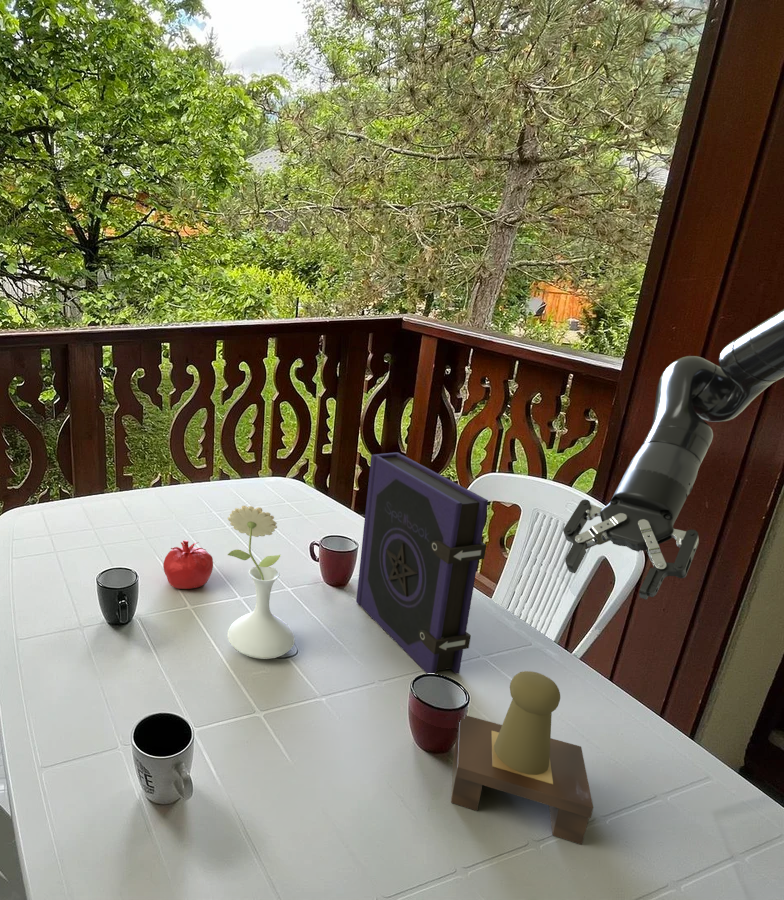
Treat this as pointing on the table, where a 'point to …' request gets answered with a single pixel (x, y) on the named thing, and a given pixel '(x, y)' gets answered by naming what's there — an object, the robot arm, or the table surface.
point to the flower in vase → (259, 594)
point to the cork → (528, 723)
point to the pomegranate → (188, 566)
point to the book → (420, 559)
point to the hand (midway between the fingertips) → (605, 582)
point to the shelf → (522, 778)
